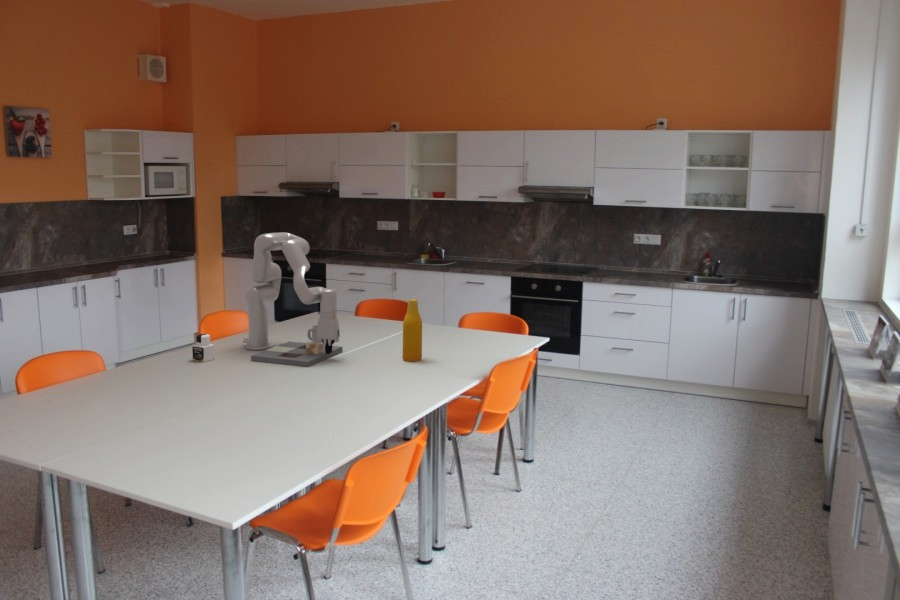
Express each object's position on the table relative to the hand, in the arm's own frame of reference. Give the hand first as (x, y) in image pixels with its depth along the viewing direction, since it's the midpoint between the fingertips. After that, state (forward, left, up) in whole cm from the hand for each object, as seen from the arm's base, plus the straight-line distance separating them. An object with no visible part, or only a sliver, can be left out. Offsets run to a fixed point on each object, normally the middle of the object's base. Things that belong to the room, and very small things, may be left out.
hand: (328, 353), depth 364 cm
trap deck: (-16, 0, -3) cm, 17 cm away
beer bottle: (+37, +15, -3) cm, 40 cm away
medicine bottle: (-52, -24, -3) cm, 58 cm away
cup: (-22, +29, -3) cm, 37 cm away
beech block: (-7, 0, 0) cm, 7 cm away
